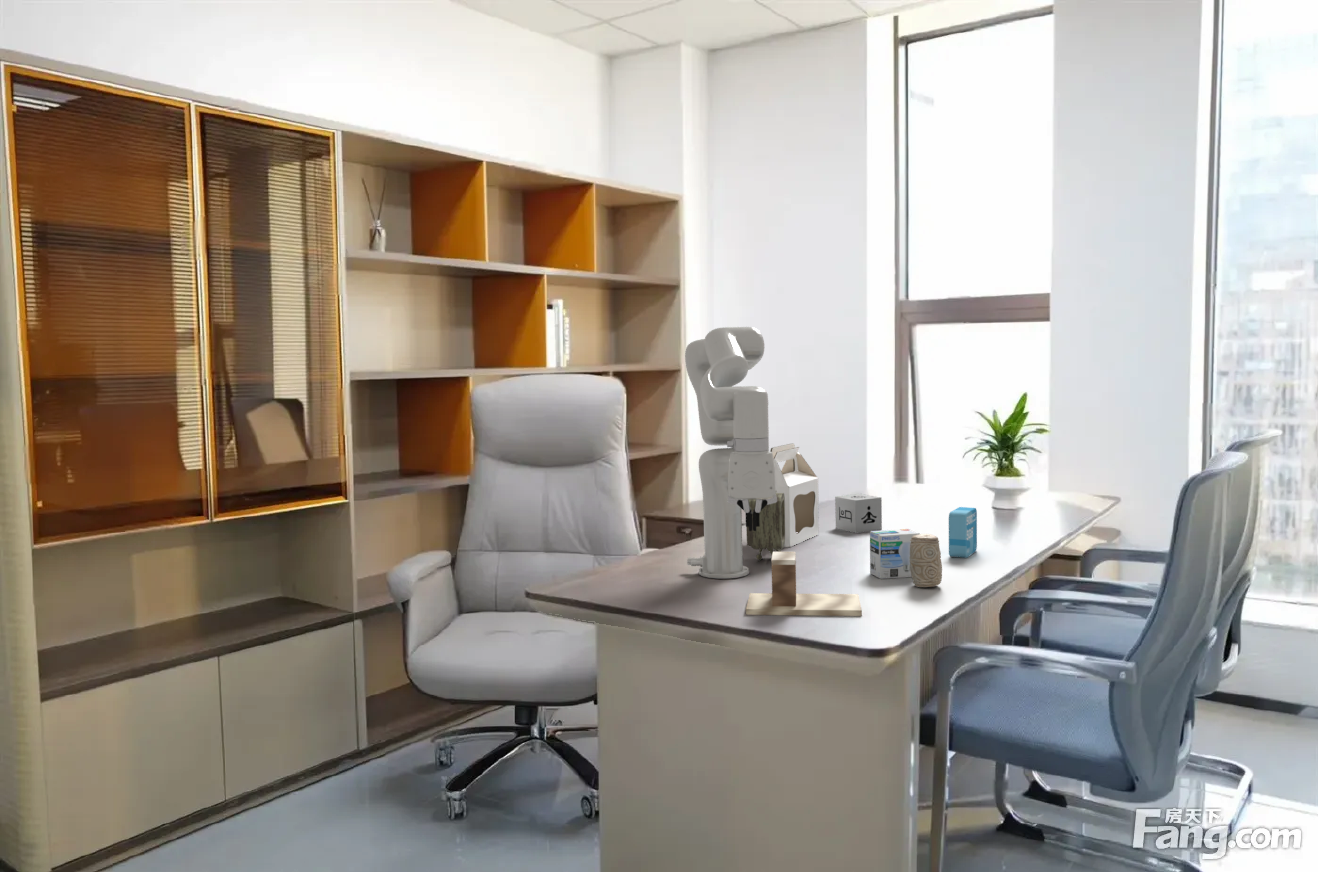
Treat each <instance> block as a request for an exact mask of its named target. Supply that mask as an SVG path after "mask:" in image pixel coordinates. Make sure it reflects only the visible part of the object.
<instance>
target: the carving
mask: <svg viewBox="0 0 1318 872" xmlns="http://www.w3.org/2000/svg"><path fill="white" fill-rule="evenodd" d="M911 538H912V539H911V540H910V541H911V543H910V545H911V546H910V557H909V559H910V560H909V561H910V572H911V575H912V577H911V579H912V583H913V584H914V587H918V588H933V587H936V586H939V585H941V583H942V578H943V564H942V559H941V558H942V557H941V556H942V555H941V554H942V551H941V549H940V543H939V542H940V540H939V538H938V536H937V535H934V534H929V533H920V534H918V535H914V536H912V537H911Z"/></svg>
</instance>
